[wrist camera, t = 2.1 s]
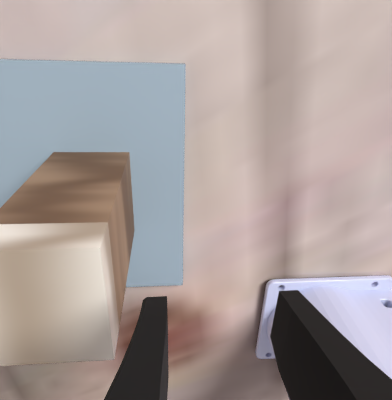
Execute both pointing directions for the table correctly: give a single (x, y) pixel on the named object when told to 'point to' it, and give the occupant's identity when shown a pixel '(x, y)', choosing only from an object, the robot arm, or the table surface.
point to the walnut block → (66, 259)
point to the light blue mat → (105, 141)
